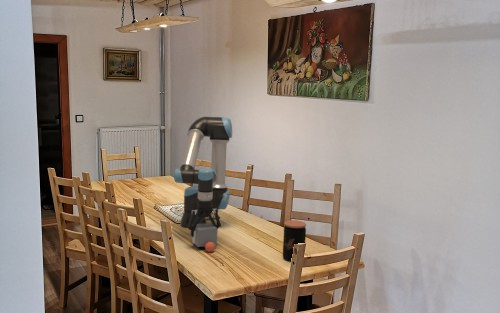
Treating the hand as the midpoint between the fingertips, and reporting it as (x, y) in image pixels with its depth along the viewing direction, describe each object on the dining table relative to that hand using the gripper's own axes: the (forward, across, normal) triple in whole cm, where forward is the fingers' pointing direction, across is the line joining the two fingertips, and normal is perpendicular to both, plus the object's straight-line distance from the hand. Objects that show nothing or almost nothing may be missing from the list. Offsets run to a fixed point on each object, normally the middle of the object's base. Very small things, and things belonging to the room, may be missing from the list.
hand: (203, 241), depth 246 cm
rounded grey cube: (+1, 0, 0) cm, 1 cm away
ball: (0, 0, -8) cm, 8 cm away
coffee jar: (+3, +36, -31) cm, 47 cm away
